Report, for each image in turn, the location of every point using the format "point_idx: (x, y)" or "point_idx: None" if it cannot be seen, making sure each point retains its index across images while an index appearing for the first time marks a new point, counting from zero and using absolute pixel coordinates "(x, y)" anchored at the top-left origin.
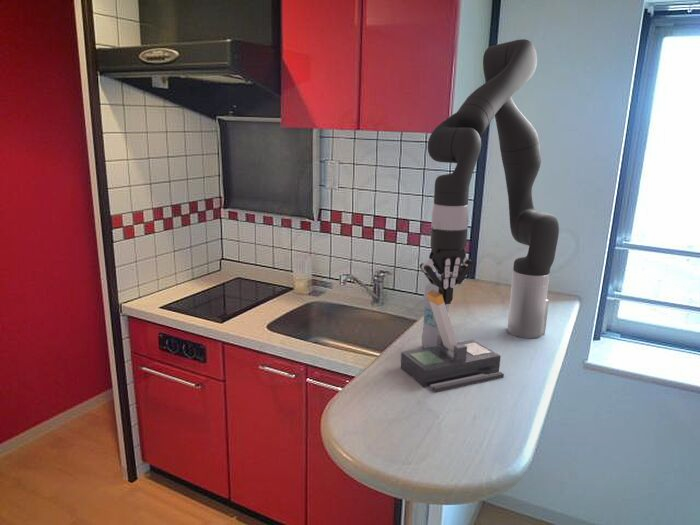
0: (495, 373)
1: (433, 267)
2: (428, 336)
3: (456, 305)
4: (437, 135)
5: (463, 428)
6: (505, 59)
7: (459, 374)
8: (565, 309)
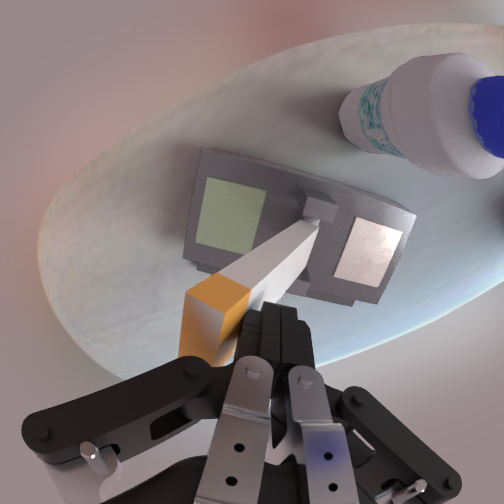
0: (342, 297)
1: (118, 480)
2: (347, 121)
3: None
4: None
5: (167, 343)
6: None
7: None
8: None
